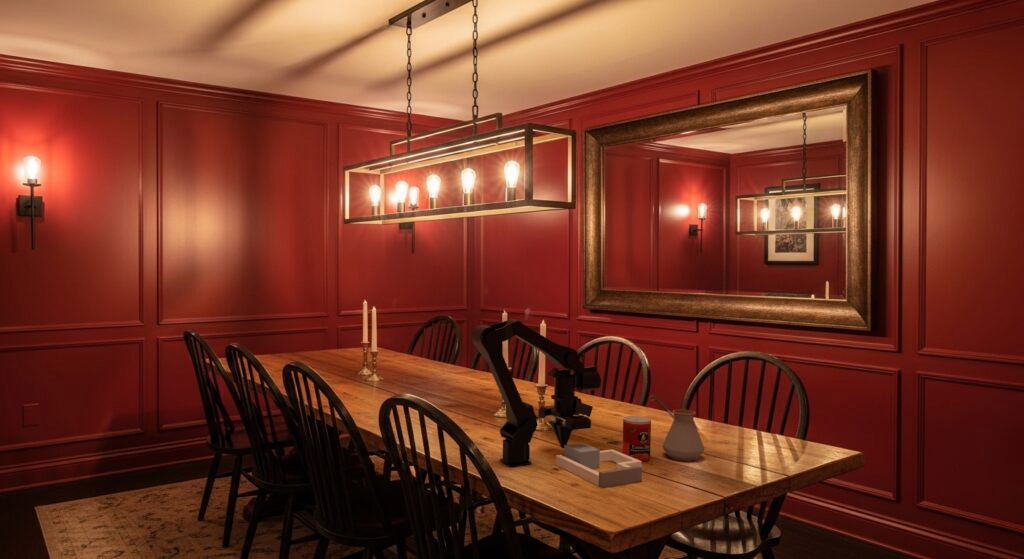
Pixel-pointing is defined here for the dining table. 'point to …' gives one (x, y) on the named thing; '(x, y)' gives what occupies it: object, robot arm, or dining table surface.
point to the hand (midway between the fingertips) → (563, 447)
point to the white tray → (623, 474)
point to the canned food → (637, 437)
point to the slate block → (583, 454)
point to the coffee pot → (682, 435)
